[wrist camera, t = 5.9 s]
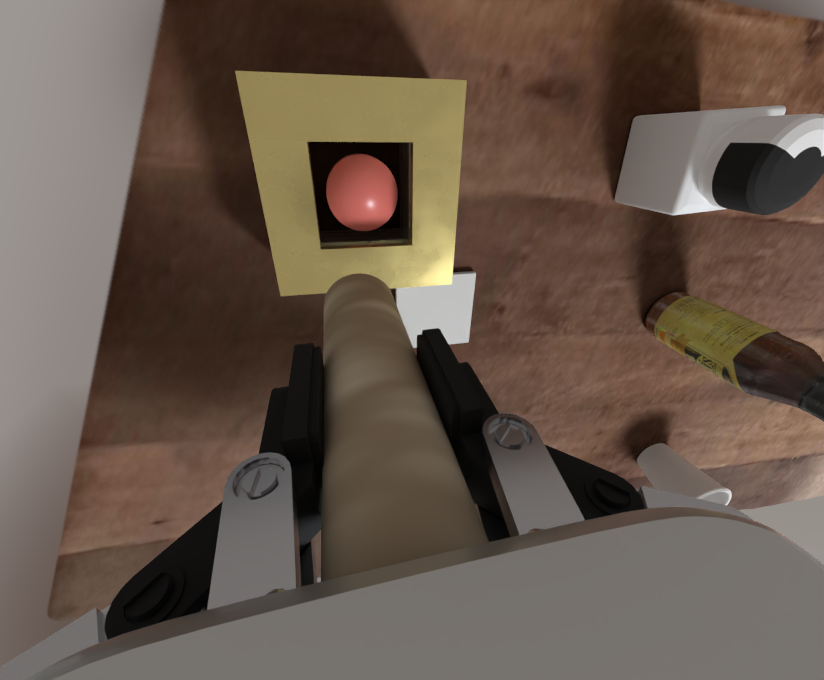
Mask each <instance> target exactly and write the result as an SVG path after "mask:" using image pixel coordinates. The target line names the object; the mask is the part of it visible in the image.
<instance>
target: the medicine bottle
mask: <svg viewBox="0 0 824 680" xmlns="http://www.w3.org/2000/svg"><path fill="white" fill-rule="evenodd" d="M785 111H786V108H785V106H782V105H780V106H765V107H751V108H737V109H722V110H708V111H694V112H680V113H666V114H653V115H639V116H636V117H635V118H634V119H633V121H632V126H631V130H630V134H629V138H628V143H627V147H626V151H625V156H624V160H623V164H622V169H621V173H620V177H619V182H618V186H617V190H616V194H615V202H617V203H621V204H626V205H630V206H634V207H639V208H643V209H647V210H652V211H656V212H660V213H665V214H669V215H681V214H689V213H697V212H706V211H714V210H722V209H732V210H738V211H743V212H749V213H754V214H760V215H769V214H773V213H776V212H779V211H781V210H783V209H785V208H788V207H789V206H791V205H793V204H794V203H796V202H797V201H799V200H800V199H801V198H802V197H804V196H805V195H806V194H807V193H808V192H809V191H810V190H811V189H812V188H813V187H814V185H815V184H816V183H817V182H818V180H819V179H820V178H821V176H822V175H823V173H824V115H822V114H800V115H784V114H785Z"/></svg>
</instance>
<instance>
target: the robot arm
mask: <svg viewBox="0 0 824 680" xmlns="http://www.w3.org/2000/svg"><path fill="white" fill-rule="evenodd" d="M417 359H418V362H419V364H420V367H421V369H422V372H423V374H424V377H425V380H426V382H427V385H428V387H429V390H430V392H431V395H432V397H433V400H434V403H435V405H436V408H437V410H438V413H439V415H440V418H441V420H442V423H443V426H444V428H445V431H446V433H447V436H448V438H449V441H450V443H451V446H452V448H453V451H454V454H455V456H456V459H457V461H458V464H459V466H460V469H461V471H462V474H463V476H464V479H465V482H466V484H467V487H468V489H469V492H470V494H471V497H472V499H473V502H474V505H475V507H476V510H477V512H478V515H479V517H480V520H481V522H482V525H483V528H484V530H485V533H486V535H487V538H488V540H489V542H488V543H483V544H479V545H475V546H471V547H466V548H462V549H458V550H454V551H449V552H445V553H441V554H437V555H432V556H428V557H424V558H420V559H415V560H411V561H407V562H403V563H398V564H394V565H390V566H386V567H381V568H377V569H373V570H369V571H365V572H360V573H356V574H352V575H348V576H344V577H340V578H335V579H331V580H327V581H323V582H319V583H317V575H316V564H315V552H314V541H313V538H314V536H315V535H316V534H317V533H318V532H319V531H320V530H321V528H322V468H323V464H324V364H323V359H322V353H321V348H320V347H314V345H313V343H308V344H299V345H295V346H294V353H293V360H292V367H291V374H290V381H289V387H282V388H274V389H273V390H272V392H271V396H270V401H269V406H268V411H267V416H266V421H265V426H264V431H263V436H262V441H261V445H260V450H259V454H258V455H255V456H252V457H250V458H248V459H246V460H245V461H243V462H241V463H240V464H239V465H238V466H237V467H236V468H235V469H234V470H233V471H232V473H231V474H230V475H229V477H228V479H227V482H226V485H225V489H224V496H223V501H222V502H221V503H220V504H219V505H218V506H217V507H215V508H214V509H213V510H212V511H211V512H209V513H208V514H207V515H206V516H205V517H203V518H202V519H201V520H200V521H199V522H197V523H196V524H195V525H194V526H193V527H192V528H190V529H189V530H188V531H187V532H186V533H184V534H183V535H182V536H181V537H180V538H178V539H177V540H176V541H175V542H174V543H173V544H171V545H170V546H169V547H168V548H167V549H165V550H164V551H163V552H162V553H161V554H159V555H158V556H157V557H156V558H155V559H154V560H152V561H151V562H150V563H149V564H148V565H146V566H145V567H144V568H143V569H142V570H140V571H139V572H138V573H137V574H136V575H135V576H133V577H132V578H131V579H130V580H129V581H128V582H127V583H126V584H125V585H124V586H123V587H122V589H121V590H120V591H119V593H118V594H117V596H116V597H115V598H114V600H113V601H112V603H111V605H110V606H108V607H106V608H105V609H103V610H102V611H99V610H98V609H97V608H95V609H93V610H91V611H90V612H88V613H87V614H85V615H83V616H82V617H80V618H79V619H77V620H75V621H74V622H72V623H71V624H69V625H67V626H66V627H64V628H62V629H61V630H59V631H58V632H56V633H54V634H53V635H51V636H50V637H48V638H46V639H45V640H43V641H42V642H40V643H38V644H37V645H35V646H34V647H32V648H30V649H29V650H27V651H26V652H24V653H22V654H21V655H19V656H18V657H16V658H14V659H13V660H11V661H10V662H8V663H6V664H5V665H3V666H2V667H0V680H824V565H823V564H822V563H821V562H820V561H818V560H817V559H816V558H814V557H813V556H812V555H811V554H809V553H808V552H807V551H805V550H804V549H803V548H801V547H799V546H798V545H797V544H795V543H794V542H793V541H791V540H790V539H788V538H787V537H785V536H783V535H782V534H780V533H778V532H777V531H775V530H773V529H771V528H769V527H767V526H765V525H763V524H760V523H758V522H755V521H753V520H752V519H751V518H749V517H748V516H747V515H745V514H744V513H742V512H740V511H738V510H737V509H735V508H732V507H729V506H726V505H724V504H720V503H715V502H711V501H706V500H702V499H697V498H693V497H689V496H684V495H680V494H675V493H671V492H667V491H662V490H658V489H653V488H649V487H644V486H641V487H640V489H639V490H638V489H635V488H634V487H633V486H632V485H631V484H630V483H628V482H627V481H626V480H625V479H623V478H621V477H619V476H618V475H616V474H614V473H611V472H609V471H607V470H604V469H602V468H599V467H597V466H595V465H592V464H590V463H587V462H585V461H583V460H580V459H578V458H575V457H573V456H571V455H568V454H566V453H564V452H561V451H559V450H556V449H554V448H552V447H549V446H547V445H544V443H543V441H542V439H541V437H540V435H539V434H538V432H537V430H536V429H535V427H534V426H533V425H532V424H531V423H530V422H529V421H527V420H526V419H524V418H522V417H520V416H518V415H514V414H510V413H500V414H499V413H498V411H497V409H496V408H495V406H494V404H493V403H492V401H491V399H490V398H489V396H488V394H487V393H486V391H485V389H484V388H483V386H482V384H481V383H480V381H479V379H478V378H477V376H476V374H475V373H474V371H473V369H472V368H471V366H470V365H469V363H467V362H464V363H459V362H458V361H457V359H456V357H455V355H454V353H453V352H452V350H451V348H450V346H449V344H448V343H447V341H446V339H445V337H444V335H443V334H442V332H441V330H440V329H439V328H435V329H427V330H423V331H422V334H420V335H417Z"/></svg>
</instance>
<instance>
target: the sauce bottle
mask: <svg viewBox="0 0 824 680" xmlns="http://www.w3.org/2000/svg"><path fill="white" fill-rule="evenodd" d="M646 328H647V330H648V331H649V332H650V334H652V335H654V336H655V337H656V338H657V339H658V340H659V341H661V342H663V343H664V344H666V345H667V346H669V347H671V348H672V349H674V350H676V351H677V352H679V353H681V354H682V355H684V356H686V357H687V358H689V359H690V360H692V361H694V362H695V363H697V364H699V365H700V366H702V367H703V368H705V369H707V370H708V371H710V372H712V373H714V374H715V375H717V376H718V377H720V378H722V379H724V380H725V381H727V382H729V383H730V384H732V385H733V386H735V387H737V388H739V389H740V390H742V391H744V392H745V393H748V394H751V395H755V396H759V397H763V398H766V399H770V400H774V401H777V402H781V403H784V404H787V405H791V406H794V407H797V408H800V409H802V410H803V411H806V412H808V413H810V414H812V415H814V416H815V417H817V418H819V419H821V420H822V421H824V362H823V361H822V359H821V357H820V356H819V355H818V354H817V353H816V352H815V350H813V349H812V348H810V347H809V346H806V345H805V344H803V343H801V342H797V341H795V340H792V339H791V338H788V337H786V336H783V335H781V334H780V333H779V332H777V331H775V330H773V329H771V328H768V327H766V326H764V325H761V324H759V323H757V322H754V321H752V320H750V319H747V318H745V317H743V316H740V315H738V314H736V313H733V312H731V311H729V310H726V309H724V308H722V307H719V306H717V305H715V304H712V303H710V302H708V301H705V300H703V299H701V298H698V297H696V296H690V295H689V294H687V293H684V292H674V293H671V294H668V295H666V296H664V297H662V298H661V299H660V300H658V301H657V302H656V303H655V304H654V305H653V307H652V308H651V310H650V311H649V313H648V314H647V317H646Z"/></svg>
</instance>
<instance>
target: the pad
mask: <svg viewBox="0 0 824 680" xmlns="http://www.w3.org/2000/svg"><path fill="white" fill-rule="evenodd" d="M475 278H476V273H475V272H474V271H470V272H454V273H453V277H452V284H450V285H436V286H421V287H407V288H396V305H397V308H398V310H399V313H400V316H401V318H402V321H403V323H404V326H405V328H406V331H407V333H408V336H409V339H410V341H411V344H412V346H413V348H417V335H420V334H422V331H423V330H427V329H435V328H439V329H440V330H441V332H442V334H443V335H444V337H445V339H446V341H447V343H448V344H457V343H467V342H469V333H470V324H471V315H472V306H473V297H474V287H475Z"/></svg>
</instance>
